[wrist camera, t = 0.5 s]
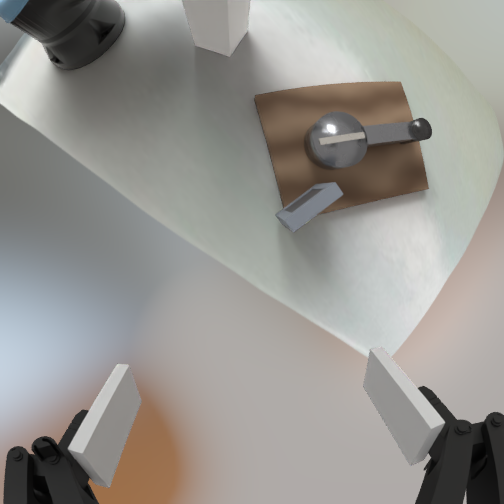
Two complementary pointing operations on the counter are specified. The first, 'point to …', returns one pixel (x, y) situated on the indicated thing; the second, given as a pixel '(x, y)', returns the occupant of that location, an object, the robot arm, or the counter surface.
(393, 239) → the counter surface
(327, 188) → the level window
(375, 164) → the stand board
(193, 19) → the milk
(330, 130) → the crank handle
